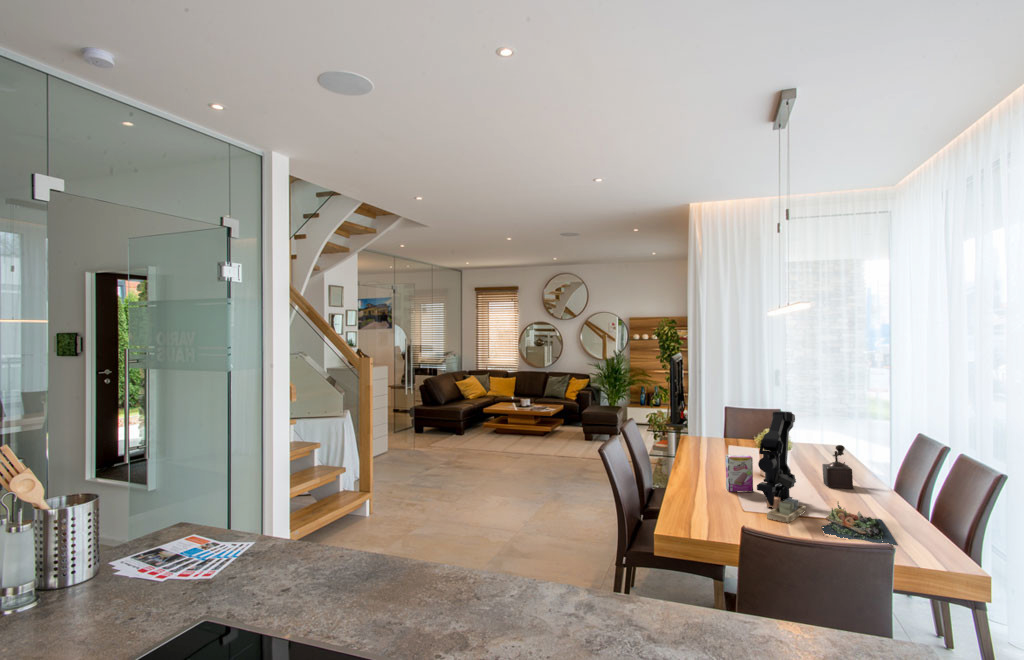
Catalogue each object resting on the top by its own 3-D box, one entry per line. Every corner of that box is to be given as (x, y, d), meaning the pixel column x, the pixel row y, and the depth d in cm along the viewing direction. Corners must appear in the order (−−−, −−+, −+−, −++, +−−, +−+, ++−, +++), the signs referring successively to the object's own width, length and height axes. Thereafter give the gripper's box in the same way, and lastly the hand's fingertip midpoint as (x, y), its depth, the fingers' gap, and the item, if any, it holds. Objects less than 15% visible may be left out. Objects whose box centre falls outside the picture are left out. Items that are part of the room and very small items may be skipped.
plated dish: (806, 511, 222) (805, 494, 222) (887, 520, 211) (887, 501, 211) (815, 542, 190) (815, 521, 190) (912, 554, 179) (912, 532, 179)
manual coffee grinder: (855, 489, 250) (853, 450, 251) (828, 488, 253) (827, 449, 254) (845, 481, 265) (843, 444, 266) (819, 480, 268) (818, 443, 269)
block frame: (785, 507, 226) (784, 495, 226) (806, 511, 220) (805, 499, 221) (766, 518, 213) (766, 506, 213) (788, 523, 207) (787, 510, 207)
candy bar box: (729, 492, 250) (727, 457, 251) (725, 489, 255) (724, 454, 256) (754, 492, 249) (752, 456, 250) (750, 489, 254) (749, 454, 255)
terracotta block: (770, 505, 229) (770, 495, 230) (780, 506, 227) (780, 497, 227) (766, 507, 227) (766, 497, 227) (776, 509, 224) (776, 499, 224)
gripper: (783, 474, 215) (785, 513, 214) (800, 466, 228) (802, 503, 227) (755, 470, 223) (756, 508, 223) (773, 462, 236) (774, 498, 235)
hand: (773, 504), depth 227 cm, fingers closed on terracotta block, 4 cm apart
